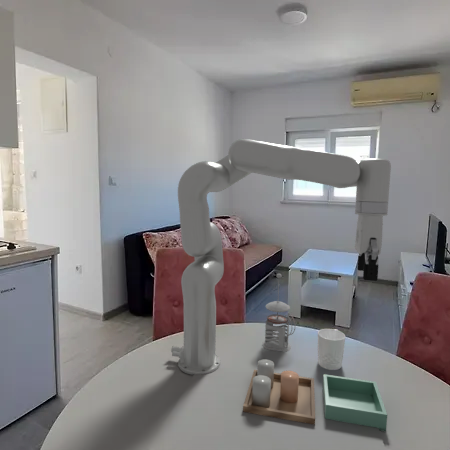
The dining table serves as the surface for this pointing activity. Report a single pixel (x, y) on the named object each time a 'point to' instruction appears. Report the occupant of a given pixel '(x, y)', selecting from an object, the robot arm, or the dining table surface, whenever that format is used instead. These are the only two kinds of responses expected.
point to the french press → (281, 340)
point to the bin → (353, 401)
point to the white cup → (330, 348)
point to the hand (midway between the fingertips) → (366, 275)
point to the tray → (280, 409)
